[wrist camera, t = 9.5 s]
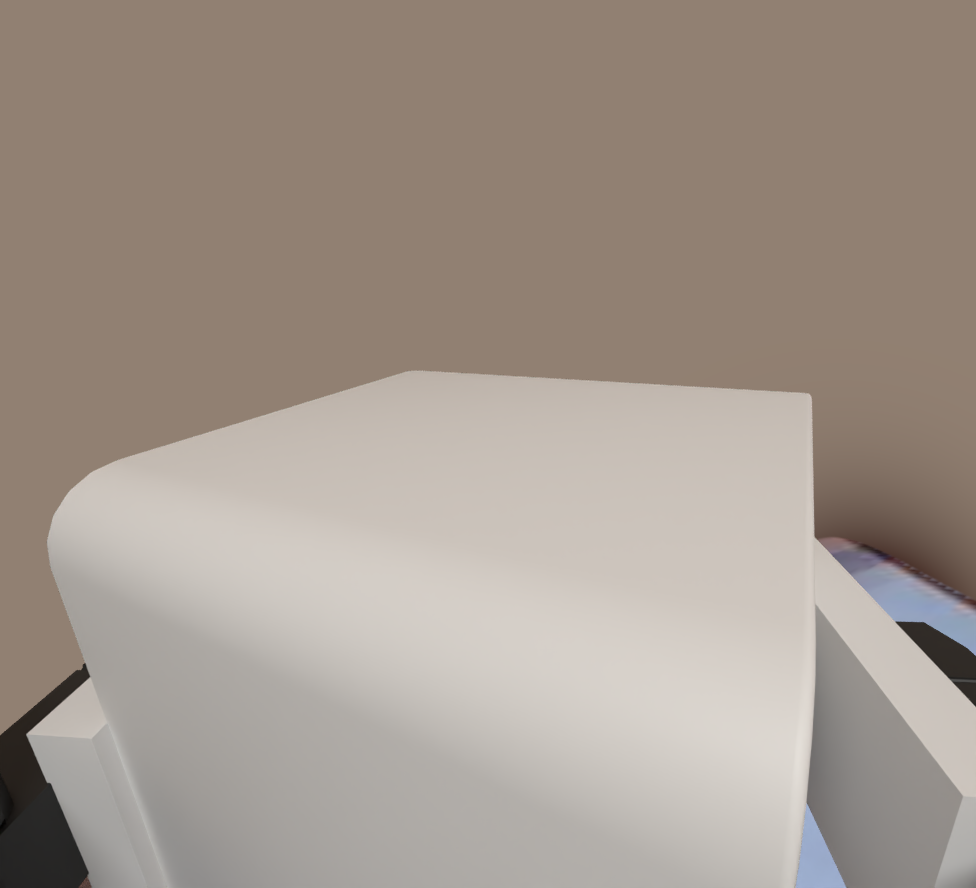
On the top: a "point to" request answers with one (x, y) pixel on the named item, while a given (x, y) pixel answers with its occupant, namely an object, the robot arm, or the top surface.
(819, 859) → the top surface
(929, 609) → the top surface
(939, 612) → the top surface
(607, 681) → the security camera
